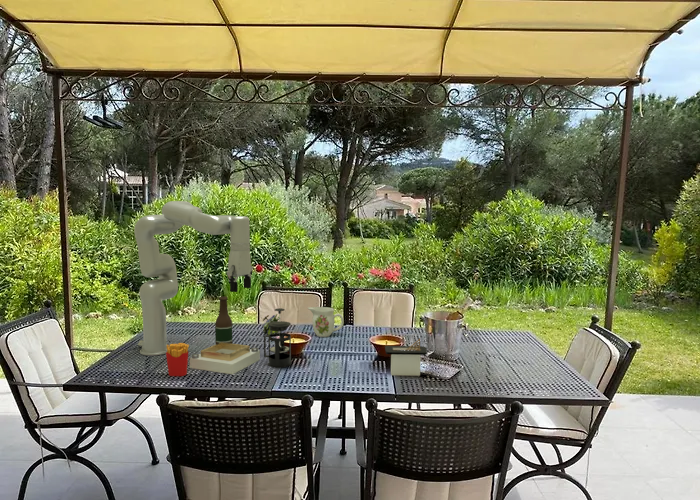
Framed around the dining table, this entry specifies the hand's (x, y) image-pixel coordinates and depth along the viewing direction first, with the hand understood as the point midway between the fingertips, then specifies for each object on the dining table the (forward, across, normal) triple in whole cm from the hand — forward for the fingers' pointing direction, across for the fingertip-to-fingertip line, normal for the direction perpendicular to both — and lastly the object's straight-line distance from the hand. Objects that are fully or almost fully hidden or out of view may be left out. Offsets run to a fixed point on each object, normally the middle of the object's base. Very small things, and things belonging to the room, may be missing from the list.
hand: (240, 289), depth 210 cm
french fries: (+31, +19, -16) cm, 40 cm away
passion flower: (+31, -50, -13) cm, 60 cm away
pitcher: (+31, -56, +13) cm, 65 cm away
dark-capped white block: (+32, -15, +64) cm, 73 cm away
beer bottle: (+31, -15, -18) cm, 39 cm away
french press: (+31, -6, +13) cm, 34 cm away
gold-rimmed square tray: (+31, +1, -7) cm, 32 cm away
